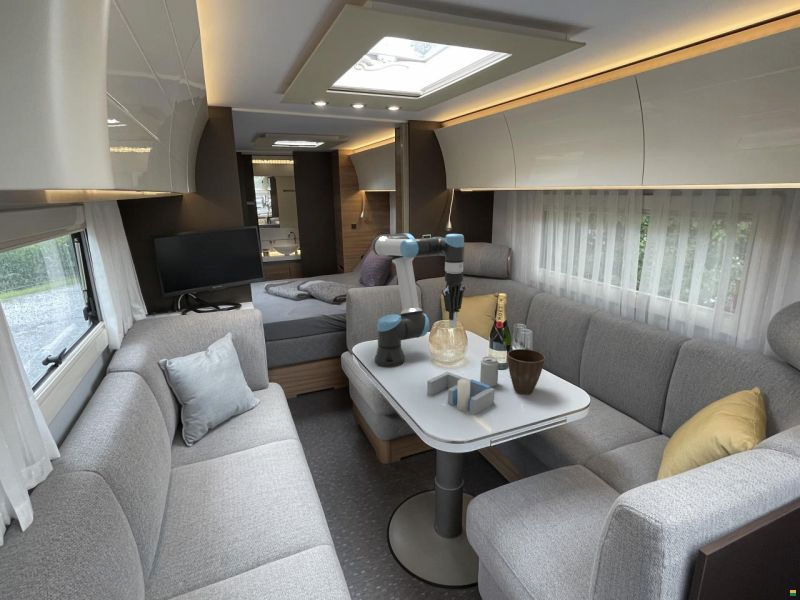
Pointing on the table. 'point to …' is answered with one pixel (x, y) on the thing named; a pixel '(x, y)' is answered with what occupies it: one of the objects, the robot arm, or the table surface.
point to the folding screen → (478, 391)
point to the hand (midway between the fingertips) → (452, 326)
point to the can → (489, 371)
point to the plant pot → (525, 369)
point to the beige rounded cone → (463, 394)
